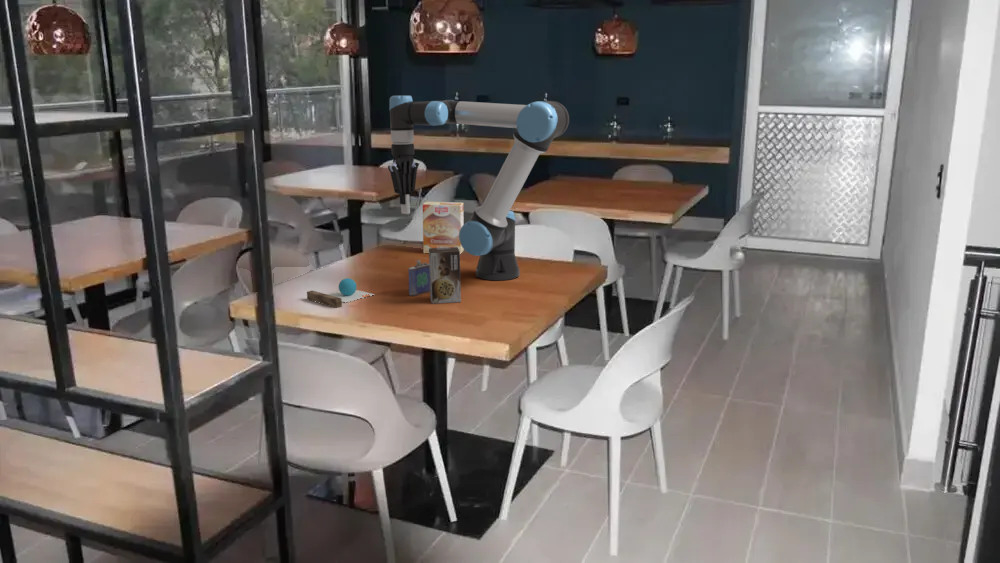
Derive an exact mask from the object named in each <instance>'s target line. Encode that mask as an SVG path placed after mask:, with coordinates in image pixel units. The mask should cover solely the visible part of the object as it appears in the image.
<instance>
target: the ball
mask: <svg viewBox="0 0 1000 563" xmlns="http://www.w3.org/2000/svg"><path fill="white" fill-rule="evenodd" d="M356 290H357V283H356V282H355V280H354V279H353V278H351V277H350V278H348V277H347V278H344V279H341V281H340V282H339V284H338V291H340V292H341V293H342V294H343V295H346V296H349V295H352V294H354V292H355V291H356Z"/></svg>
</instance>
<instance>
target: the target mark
mask: <svg viewBox="0 0 1000 563" xmlns="http://www.w3.org/2000/svg"><path fill="white" fill-rule="evenodd" d="M326 294H327V295H331V296H335V297H338V298H341V299H342V303H343V302H345V303H344V304H346V302H348V303H350V301H351V302H355V301H357V299H359V300H361V299H360V298H362V299H365V298H364V297H362V295H364V296H365V295H366V294H367V295H368V294H369V295H370V297H373V296H372V295H374V296H375V295H376V294H374V293H371V292H367V291H363V290H358V289H356V291H355V292H354V294H352V295H349V296H346V295H343V294H342V293H341V292H340V291H339V290H337V291H333V292H329V293H326ZM354 300H355V301H354Z"/></svg>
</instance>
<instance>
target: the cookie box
mask: <svg viewBox="0 0 1000 563" xmlns="http://www.w3.org/2000/svg"><path fill="white" fill-rule="evenodd" d="M428 260H429V261H428V264H429V270H430V292H429V298H430V302H431V304H433V305H434V304H448V303H450V304H451V303H461V302H462V298H461V296H462V293H461V292H462V291H461V290H462V288H461V255H460V251H459V249H458V248H457V247H449V248H429V254H428Z"/></svg>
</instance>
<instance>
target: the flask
mask: <svg viewBox="0 0 1000 563" xmlns="http://www.w3.org/2000/svg"><path fill="white" fill-rule="evenodd" d="M427 293H430V270H429V262H423V263H422V261H421V260H419V259H417V260H416V265H415V266H411V267H408V296H410V297H417V296H419V295H424V294H427Z"/></svg>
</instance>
